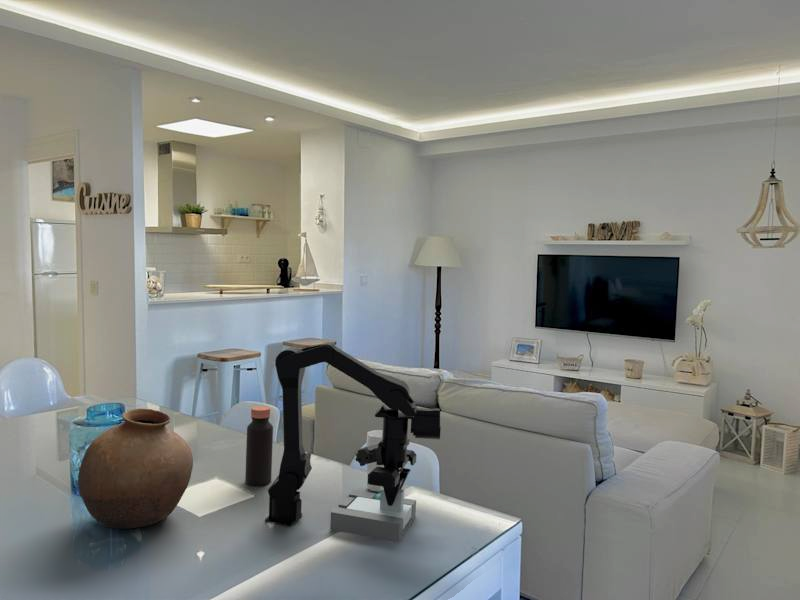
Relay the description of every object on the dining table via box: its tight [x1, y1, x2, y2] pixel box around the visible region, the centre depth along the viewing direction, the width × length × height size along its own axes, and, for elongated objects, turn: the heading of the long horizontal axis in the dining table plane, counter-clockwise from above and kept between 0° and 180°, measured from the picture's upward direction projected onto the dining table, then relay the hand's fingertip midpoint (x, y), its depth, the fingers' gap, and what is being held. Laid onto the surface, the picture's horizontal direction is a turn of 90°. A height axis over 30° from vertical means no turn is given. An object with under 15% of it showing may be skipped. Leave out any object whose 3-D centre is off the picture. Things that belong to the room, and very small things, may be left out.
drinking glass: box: [365, 429, 384, 493], centre depth 157 cm, size 7×7×15 cm
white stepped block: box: [346, 487, 412, 529], centre depth 136 cm, size 14×7×7 cm, turn 74°
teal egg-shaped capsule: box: [375, 492, 380, 500], centre depth 142 cm, size 3×3×3 cm
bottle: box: [244, 405, 274, 487], centre depth 158 cm, size 7×7×20 cm
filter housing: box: [329, 489, 417, 543], centre depth 136 cm, size 16×14×4 cm
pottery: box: [77, 408, 194, 530], centre depth 130 cm, size 23×23×25 cm
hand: (391, 503), depth 135 cm, fingers closed on white stepped block, 2 cm apart
